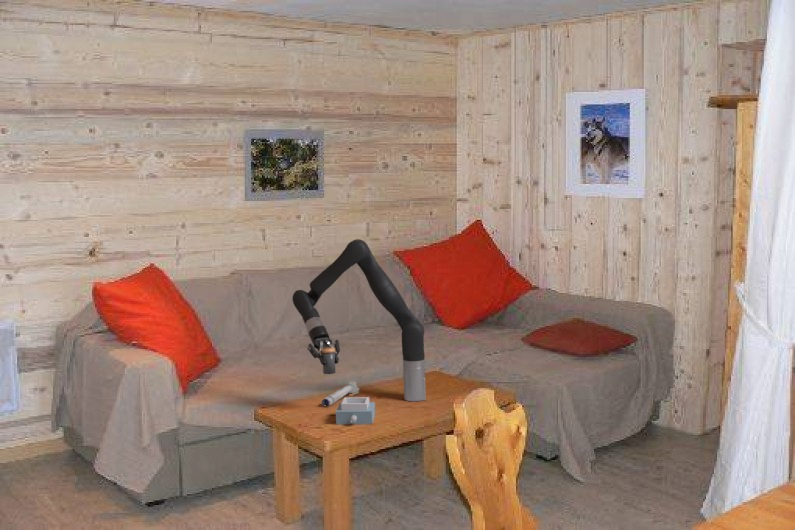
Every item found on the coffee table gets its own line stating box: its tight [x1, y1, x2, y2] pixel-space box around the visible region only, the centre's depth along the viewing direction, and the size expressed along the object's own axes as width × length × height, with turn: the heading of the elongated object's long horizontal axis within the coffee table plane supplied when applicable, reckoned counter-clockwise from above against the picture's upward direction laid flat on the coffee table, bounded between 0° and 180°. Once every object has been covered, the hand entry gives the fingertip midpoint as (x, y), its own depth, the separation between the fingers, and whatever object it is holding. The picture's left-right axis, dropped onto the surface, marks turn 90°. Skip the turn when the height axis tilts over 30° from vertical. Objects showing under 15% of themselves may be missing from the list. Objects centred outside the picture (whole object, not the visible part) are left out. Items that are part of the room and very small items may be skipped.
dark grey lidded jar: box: [322, 347, 336, 375], centre depth 365 cm, size 5×5×10 cm
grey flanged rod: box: [321, 380, 360, 407], centre depth 383 cm, size 5×7×25 cm
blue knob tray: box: [335, 396, 376, 425], centre depth 351 cm, size 14×17×8 cm
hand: (331, 363), depth 364 cm, fingers closed on dark grey lidded jar, 5 cm apart
